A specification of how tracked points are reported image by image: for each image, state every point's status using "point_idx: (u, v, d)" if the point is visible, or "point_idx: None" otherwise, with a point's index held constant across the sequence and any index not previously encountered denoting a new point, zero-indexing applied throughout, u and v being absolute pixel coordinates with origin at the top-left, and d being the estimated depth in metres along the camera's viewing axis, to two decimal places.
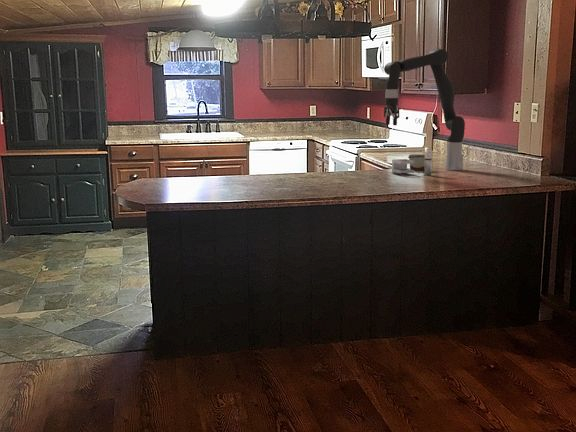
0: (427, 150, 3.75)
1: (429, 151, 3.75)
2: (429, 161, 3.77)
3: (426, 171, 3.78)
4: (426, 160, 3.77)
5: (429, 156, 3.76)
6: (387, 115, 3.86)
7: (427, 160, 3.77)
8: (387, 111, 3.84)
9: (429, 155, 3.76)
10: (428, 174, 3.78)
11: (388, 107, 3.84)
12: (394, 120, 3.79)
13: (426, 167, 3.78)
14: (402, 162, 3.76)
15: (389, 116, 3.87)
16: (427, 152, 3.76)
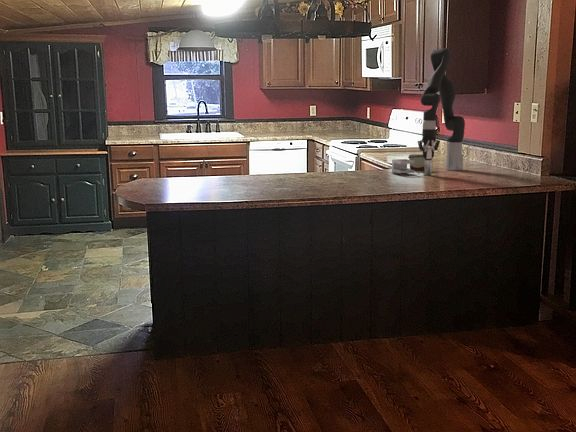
0: (427, 150, 3.75)
1: (429, 151, 3.75)
2: (429, 161, 3.77)
3: (426, 171, 3.78)
4: (426, 160, 3.77)
5: (429, 156, 3.76)
6: (426, 147, 3.76)
7: (427, 160, 3.76)
8: (428, 142, 3.74)
9: (429, 155, 3.76)
10: (428, 174, 3.78)
11: (427, 138, 3.74)
12: (433, 153, 3.78)
13: (426, 167, 3.78)
14: (402, 162, 3.76)
15: None
16: (427, 152, 3.76)
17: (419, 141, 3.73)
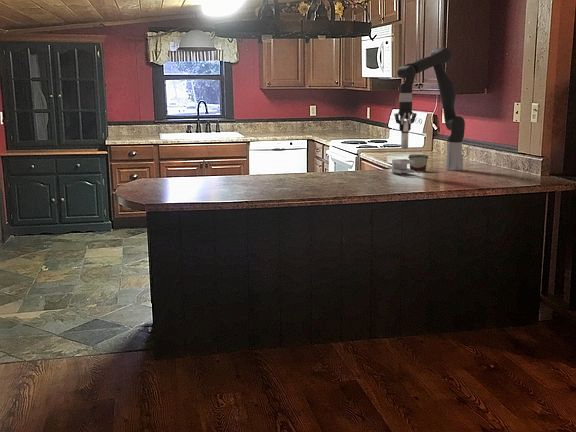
0: (404, 123, 3.75)
1: (406, 124, 3.75)
2: (406, 134, 3.76)
3: (403, 144, 3.78)
4: (403, 133, 3.77)
5: (406, 129, 3.76)
6: (403, 120, 3.75)
7: (404, 133, 3.76)
8: (405, 115, 3.74)
9: (406, 128, 3.76)
10: (405, 147, 3.78)
11: (403, 111, 3.74)
12: (410, 125, 3.78)
13: (403, 140, 3.77)
14: (402, 162, 3.76)
15: None
16: (404, 125, 3.76)
17: (395, 114, 3.73)
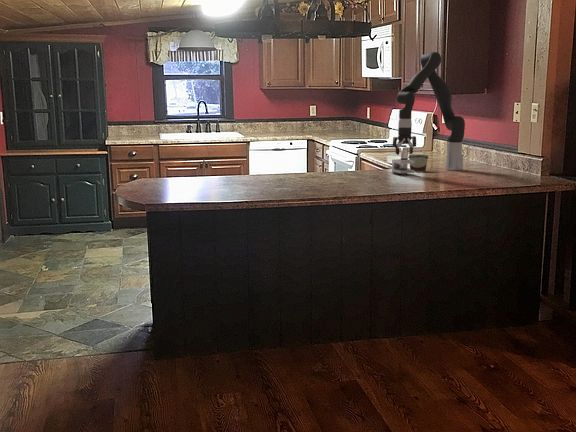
0: (403, 150, 3.78)
1: (405, 151, 3.78)
2: None
3: None
4: (402, 160, 3.80)
5: (405, 156, 3.79)
6: None
7: (403, 160, 3.79)
8: (404, 141, 3.77)
9: (405, 155, 3.79)
10: (404, 174, 3.81)
11: (402, 137, 3.77)
12: (412, 149, 3.81)
13: (402, 167, 3.80)
14: (402, 162, 3.76)
15: None
16: (403, 152, 3.79)
17: (395, 137, 3.76)
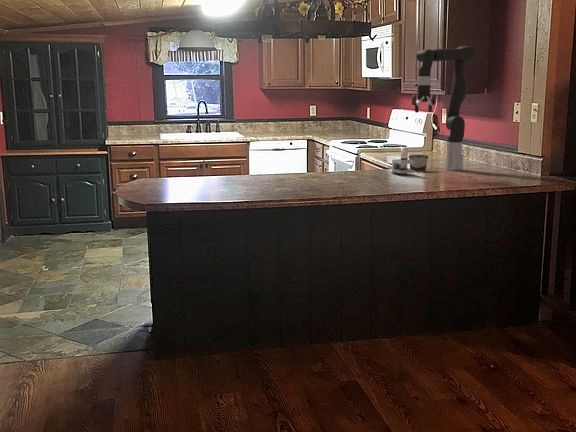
0: (403, 150, 3.78)
1: (405, 151, 3.78)
2: None
3: None
4: (402, 160, 3.80)
5: (405, 156, 3.79)
6: (419, 103, 3.81)
7: (403, 160, 3.79)
8: (423, 98, 3.80)
9: (405, 155, 3.79)
10: (404, 174, 3.81)
11: (422, 94, 3.80)
12: (431, 107, 3.84)
13: (402, 167, 3.80)
14: (402, 162, 3.76)
15: None
16: (403, 152, 3.79)
17: None
